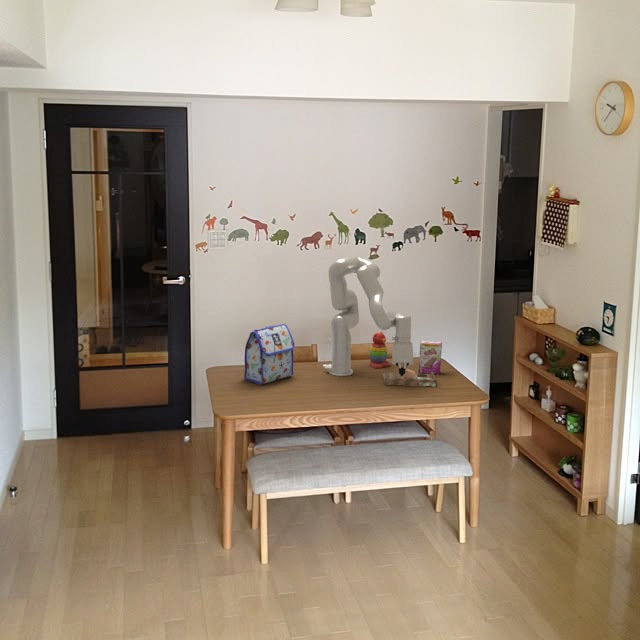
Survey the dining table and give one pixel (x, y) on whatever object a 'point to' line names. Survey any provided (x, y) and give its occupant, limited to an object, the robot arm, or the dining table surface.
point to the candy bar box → (430, 357)
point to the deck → (415, 381)
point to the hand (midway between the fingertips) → (401, 375)
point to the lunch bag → (269, 354)
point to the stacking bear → (378, 351)
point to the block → (409, 374)
